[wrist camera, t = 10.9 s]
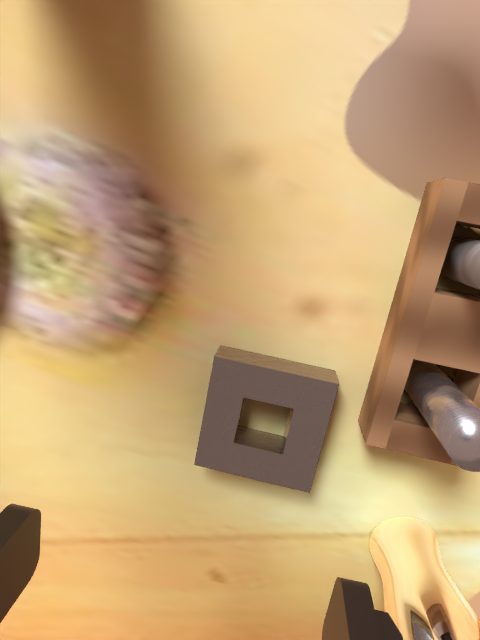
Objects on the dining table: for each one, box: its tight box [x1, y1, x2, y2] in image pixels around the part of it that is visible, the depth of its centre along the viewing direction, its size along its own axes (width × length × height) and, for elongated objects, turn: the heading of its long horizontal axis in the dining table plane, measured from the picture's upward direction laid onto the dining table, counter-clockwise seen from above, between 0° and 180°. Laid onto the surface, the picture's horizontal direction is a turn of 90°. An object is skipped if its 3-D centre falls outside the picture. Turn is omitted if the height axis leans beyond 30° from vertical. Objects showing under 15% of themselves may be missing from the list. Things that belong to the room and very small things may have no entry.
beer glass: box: [369, 516, 480, 640], centre depth 32 cm, size 7×7×15 cm
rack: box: [358, 178, 480, 465], centre depth 29 cm, size 20×8×9 cm, turn 169°
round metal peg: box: [404, 360, 480, 472], centre depth 30 cm, size 3×3×11 cm
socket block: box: [194, 346, 339, 493], centre depth 36 cm, size 10×10×3 cm
